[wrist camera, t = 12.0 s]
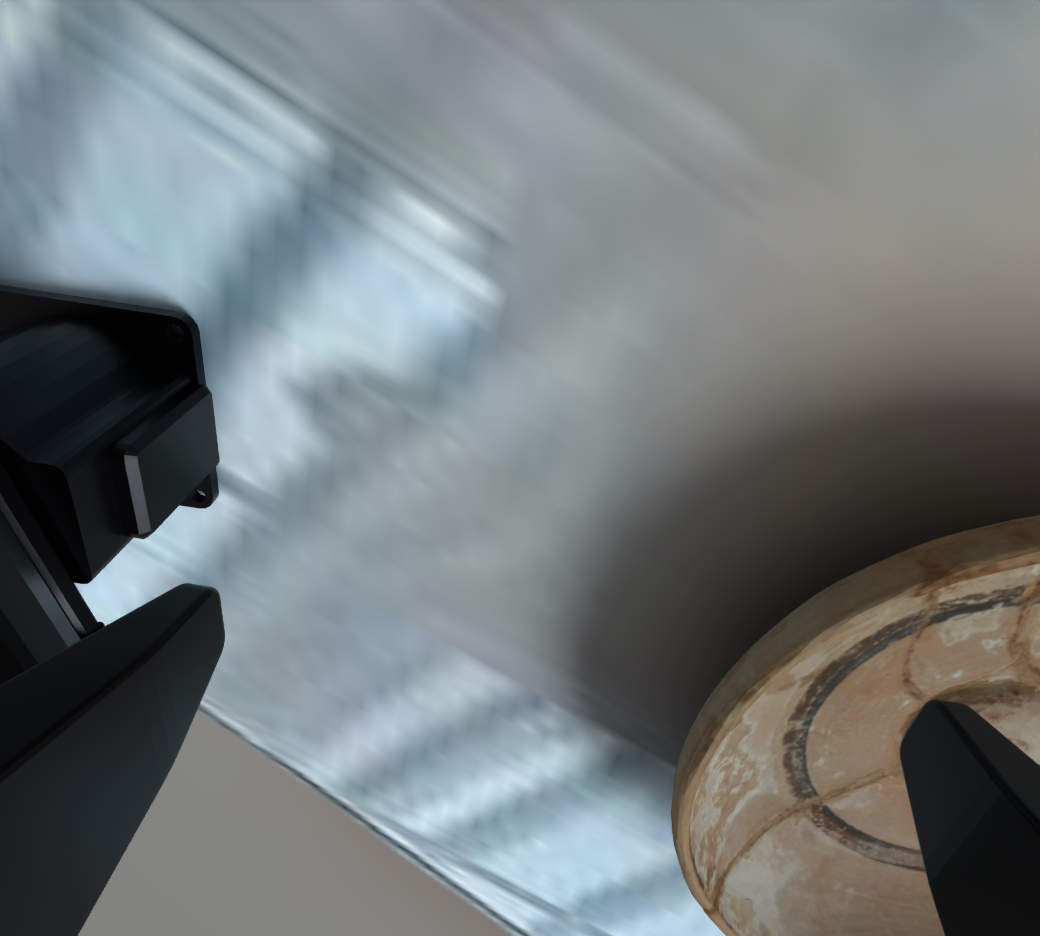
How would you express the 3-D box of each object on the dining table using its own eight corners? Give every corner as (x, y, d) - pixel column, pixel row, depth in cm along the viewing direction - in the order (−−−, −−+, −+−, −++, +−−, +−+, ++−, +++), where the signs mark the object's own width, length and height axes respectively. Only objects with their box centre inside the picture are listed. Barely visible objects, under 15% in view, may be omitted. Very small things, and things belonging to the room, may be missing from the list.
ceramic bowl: (1544, 385, 18) (1855, 488, 13) (1234, 894, 29) (1347, 1038, 25) (635, 477, 21) (648, 580, 17) (677, 896, 33) (691, 1022, 28)
